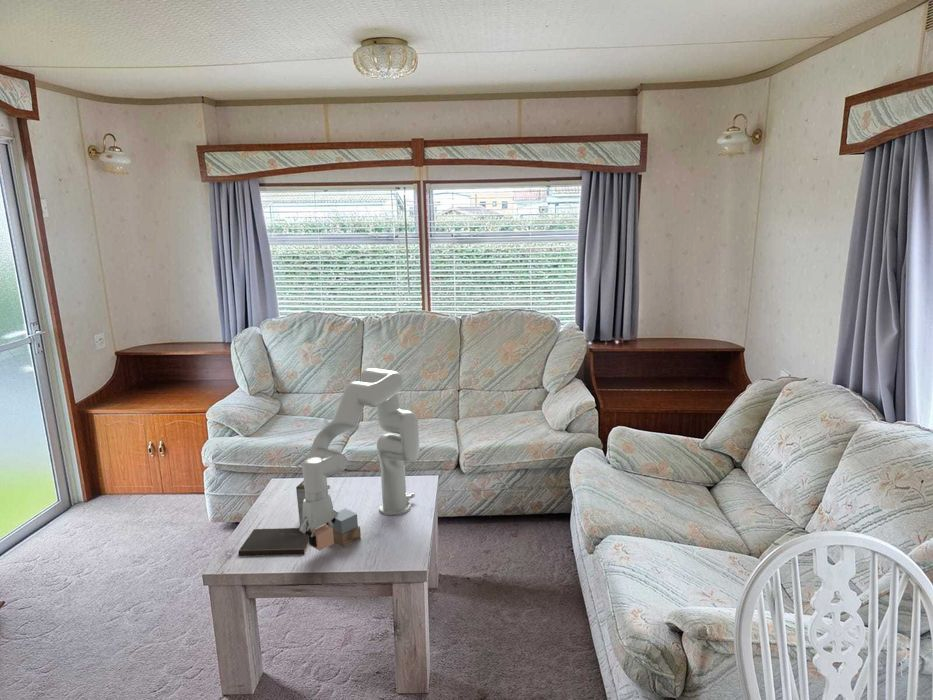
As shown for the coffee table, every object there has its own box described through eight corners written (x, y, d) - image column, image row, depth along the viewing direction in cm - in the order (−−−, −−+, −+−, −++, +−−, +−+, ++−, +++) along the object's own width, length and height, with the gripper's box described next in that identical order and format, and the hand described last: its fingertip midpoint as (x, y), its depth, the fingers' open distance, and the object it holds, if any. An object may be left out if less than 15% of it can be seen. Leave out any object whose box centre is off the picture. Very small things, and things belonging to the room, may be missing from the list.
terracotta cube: (323, 537, 211) (322, 522, 209) (334, 543, 207) (332, 527, 205) (309, 545, 206) (307, 529, 205) (319, 550, 202) (318, 534, 201)
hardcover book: (254, 534, 223) (253, 528, 223) (315, 533, 223) (315, 527, 223) (238, 557, 208) (238, 551, 207) (304, 555, 208) (303, 549, 207)
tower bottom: (347, 532, 222) (346, 520, 222) (360, 539, 217) (360, 526, 216) (329, 541, 217) (328, 528, 216) (343, 548, 211) (342, 535, 210)
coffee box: (309, 514, 237) (306, 477, 234) (324, 516, 236) (321, 478, 232) (299, 525, 228) (295, 486, 225) (314, 527, 227) (311, 487, 224)
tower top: (346, 520, 221) (345, 508, 220) (357, 526, 216) (357, 514, 215) (330, 528, 216) (329, 515, 215) (342, 534, 211) (341, 521, 210)
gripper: (330, 481, 211) (335, 528, 215) (288, 499, 199) (293, 548, 202) (343, 487, 206) (348, 534, 210) (301, 506, 194) (306, 556, 198)
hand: (321, 541), depth 206 cm, fingers closed on terracotta cube, 6 cm apart
